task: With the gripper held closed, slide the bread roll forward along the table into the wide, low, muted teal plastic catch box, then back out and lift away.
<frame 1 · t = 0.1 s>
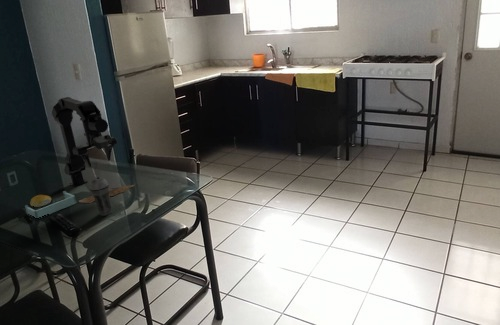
hand: (99, 163, 184), 15 cm above the table, fingers open, 9 cm apart
catch box: (52, 208, 179), on the table
bread roll: (41, 204, 187), on the table
brown carved slab: (108, 194, 188), on the table
beverage cup: (106, 213, 167), on the table
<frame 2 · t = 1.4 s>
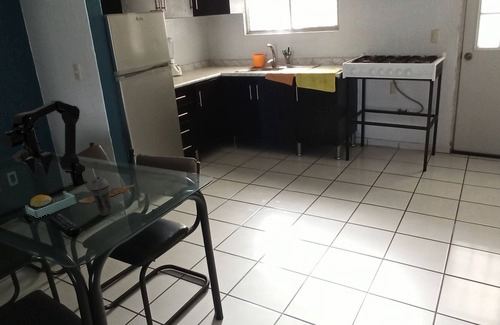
hand: (39, 174, 187), 13 cm above the table, fingers open, 9 cm apart
nothing on the table moved.
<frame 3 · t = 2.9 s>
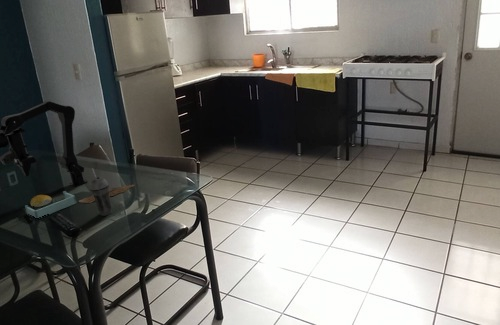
hand: (27, 176, 188), 12 cm above the table, fingers closed
nothing on the table moved.
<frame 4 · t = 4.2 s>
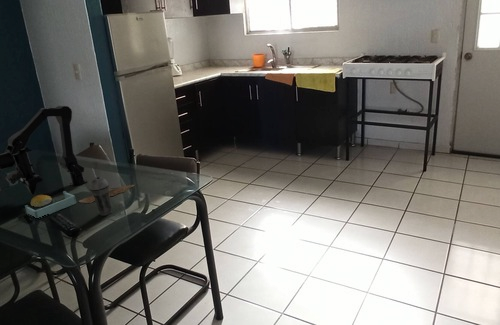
hand: (33, 194, 191), 3 cm above the table, fingers closed
nothing on the table moved.
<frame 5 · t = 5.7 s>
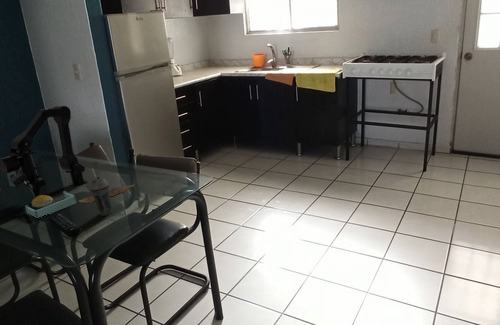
hand: (36, 197, 188), 2 cm above the table, fingers closed
bread roll: (43, 204, 186), on the table, touching gripper
everything else where it was.
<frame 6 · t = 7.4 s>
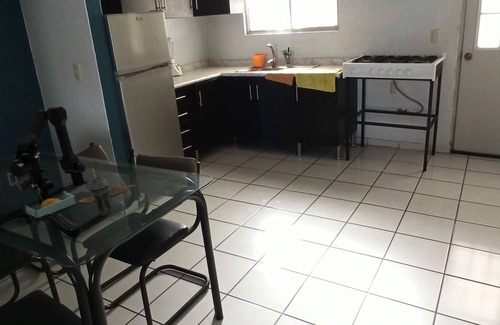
hand: (44, 201, 183), 2 cm above the table, fingers closed
bread roll: (52, 208, 181), on the table, touching gripper
everything else where it was.
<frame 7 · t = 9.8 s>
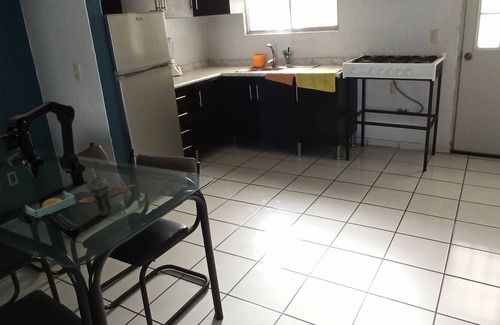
hand: (35, 177, 185), 12 cm above the table, fingers closed
bread roll: (54, 207, 180), on the table
everything else where it was.
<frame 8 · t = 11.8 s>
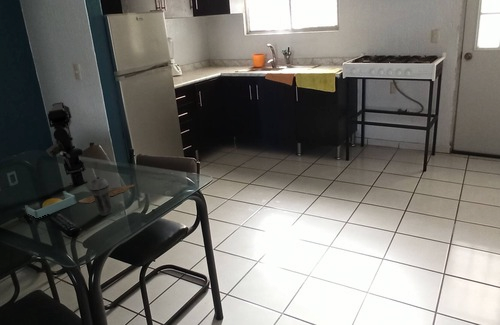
hand: (72, 168, 191), 12 cm above the table, fingers closed
nothing on the table moved.
at the end: bread roll inside the target area on the catch box (2.6 cm from its centre), point -0.5 cm above the catch box's base; bread roll moved 10.7 cm from its start; the gripper is holding nothing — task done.
